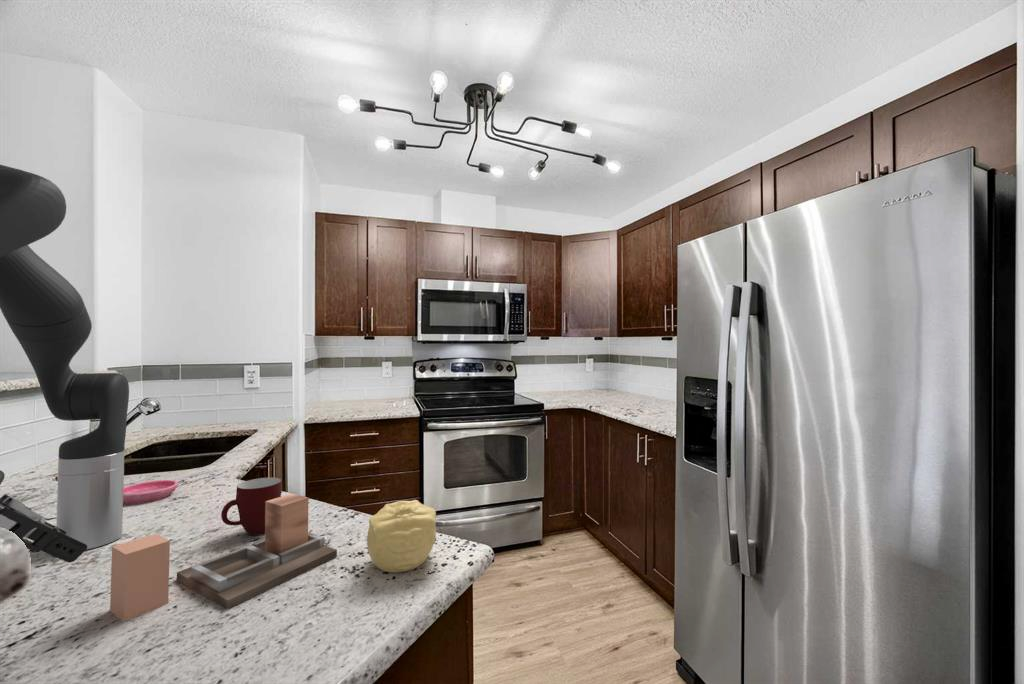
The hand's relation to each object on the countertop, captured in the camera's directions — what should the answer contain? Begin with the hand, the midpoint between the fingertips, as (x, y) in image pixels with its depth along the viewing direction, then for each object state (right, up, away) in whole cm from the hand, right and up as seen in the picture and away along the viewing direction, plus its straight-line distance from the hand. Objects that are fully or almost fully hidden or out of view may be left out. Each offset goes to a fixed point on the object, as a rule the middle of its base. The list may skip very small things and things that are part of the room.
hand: (69, 546), depth 54 cm
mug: (+5, -13, +31) cm, 34 cm away
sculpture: (+39, -12, +18) cm, 44 cm away
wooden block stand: (+15, -12, +17) cm, 25 cm away
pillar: (+4, -12, +6) cm, 14 cm away
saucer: (-37, -14, +54) cm, 67 cm away
